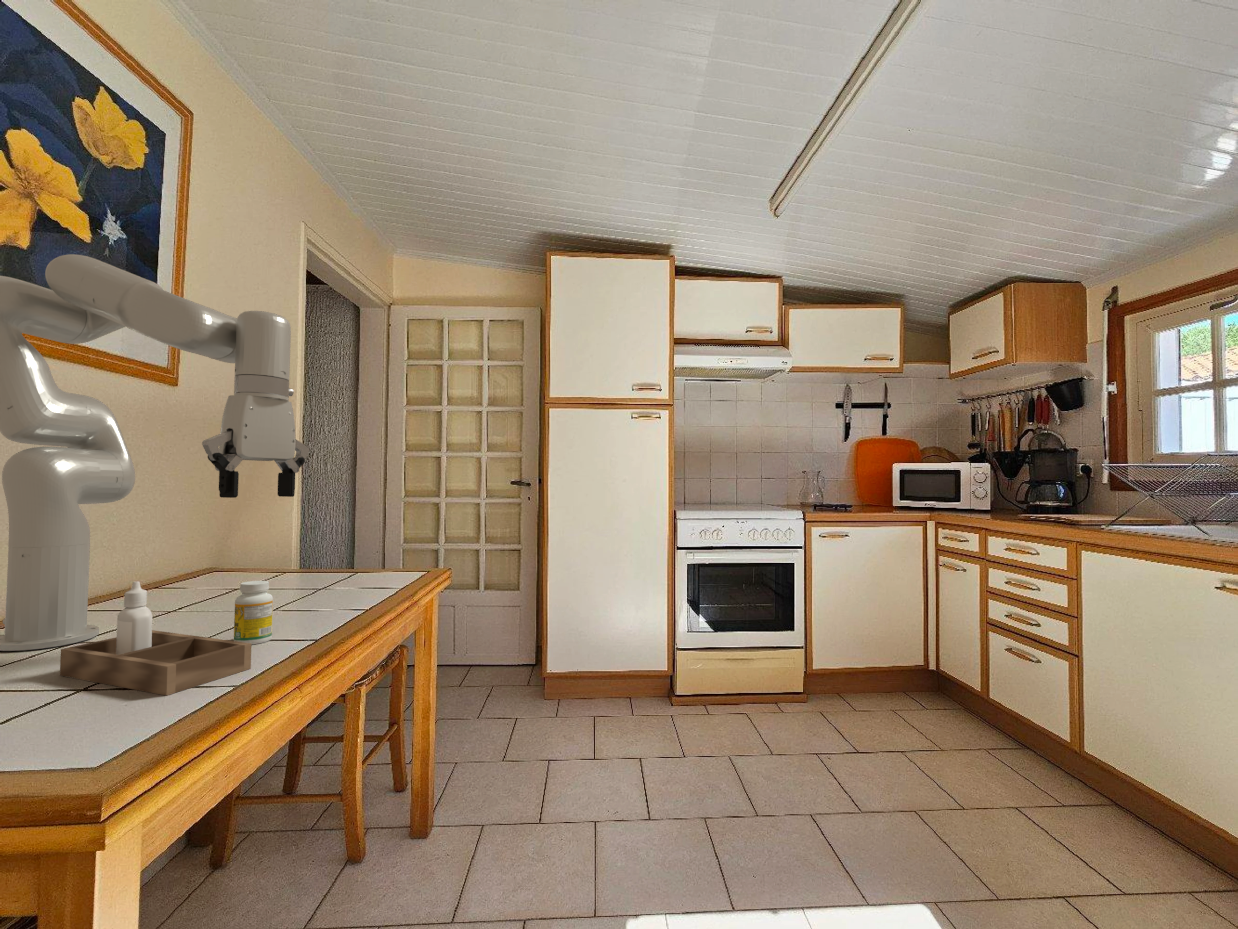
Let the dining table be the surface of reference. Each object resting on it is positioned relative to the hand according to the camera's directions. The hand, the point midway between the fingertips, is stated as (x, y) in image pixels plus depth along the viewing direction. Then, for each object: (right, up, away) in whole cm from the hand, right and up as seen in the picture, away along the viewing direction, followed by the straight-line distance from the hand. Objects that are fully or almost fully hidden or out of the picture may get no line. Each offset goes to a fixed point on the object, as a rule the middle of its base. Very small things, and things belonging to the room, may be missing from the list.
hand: (258, 496), depth 92 cm
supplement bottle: (-3, -24, +3) cm, 24 cm away
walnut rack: (-6, -23, -13) cm, 27 cm away
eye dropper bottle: (-10, -24, -11) cm, 28 cm away
